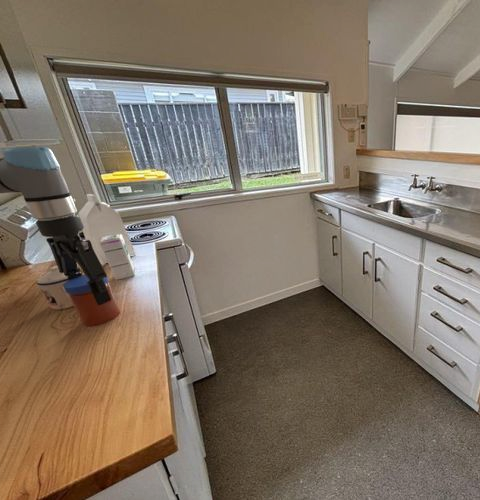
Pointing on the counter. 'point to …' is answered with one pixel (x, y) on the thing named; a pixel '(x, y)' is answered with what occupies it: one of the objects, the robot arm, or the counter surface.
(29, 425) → the counter surface
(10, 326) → the counter surface
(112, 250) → the syrup box
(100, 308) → the jam jar
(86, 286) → the jam lid
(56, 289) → the teacup with lid
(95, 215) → the milk
